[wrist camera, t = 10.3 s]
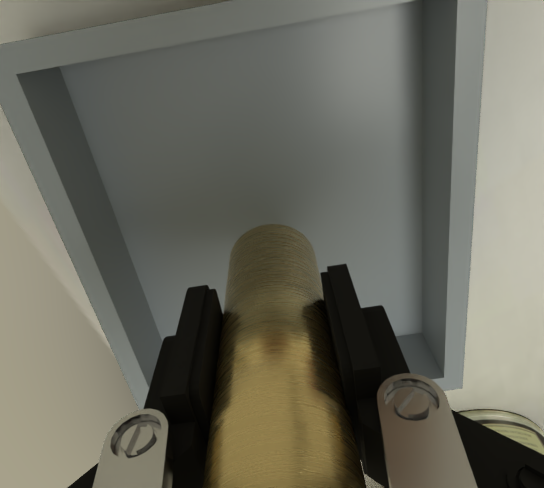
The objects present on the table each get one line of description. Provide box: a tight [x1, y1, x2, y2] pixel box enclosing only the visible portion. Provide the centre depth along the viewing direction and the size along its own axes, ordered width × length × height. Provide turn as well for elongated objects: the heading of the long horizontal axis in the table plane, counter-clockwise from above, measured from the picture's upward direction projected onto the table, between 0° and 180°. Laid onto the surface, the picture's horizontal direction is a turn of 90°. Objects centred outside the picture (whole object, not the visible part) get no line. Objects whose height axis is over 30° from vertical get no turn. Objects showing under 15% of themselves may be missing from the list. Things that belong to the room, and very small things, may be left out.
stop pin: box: [203, 224, 366, 488], centre depth 11 cm, size 3×3×10 cm
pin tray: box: [0, 0, 487, 410], centre depth 17 cm, size 16×14×4 cm
